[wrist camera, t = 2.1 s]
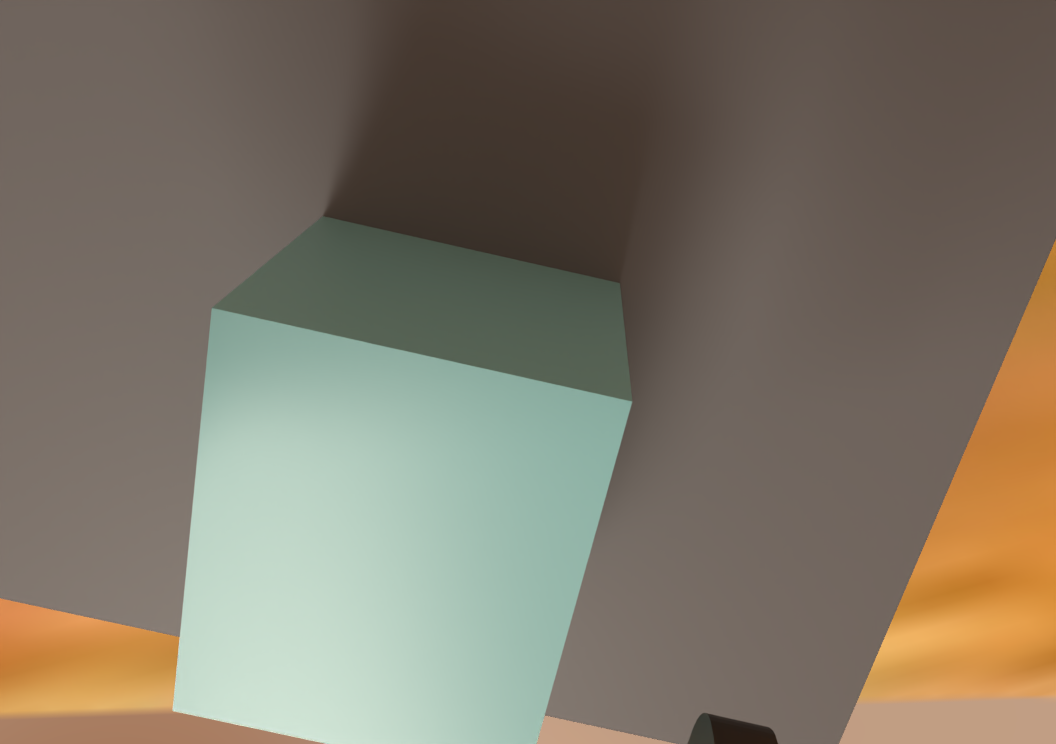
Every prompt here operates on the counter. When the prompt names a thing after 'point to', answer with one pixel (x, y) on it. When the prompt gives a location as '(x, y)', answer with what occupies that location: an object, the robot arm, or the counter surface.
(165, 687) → the counter surface
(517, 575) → the block
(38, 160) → the cabinet
